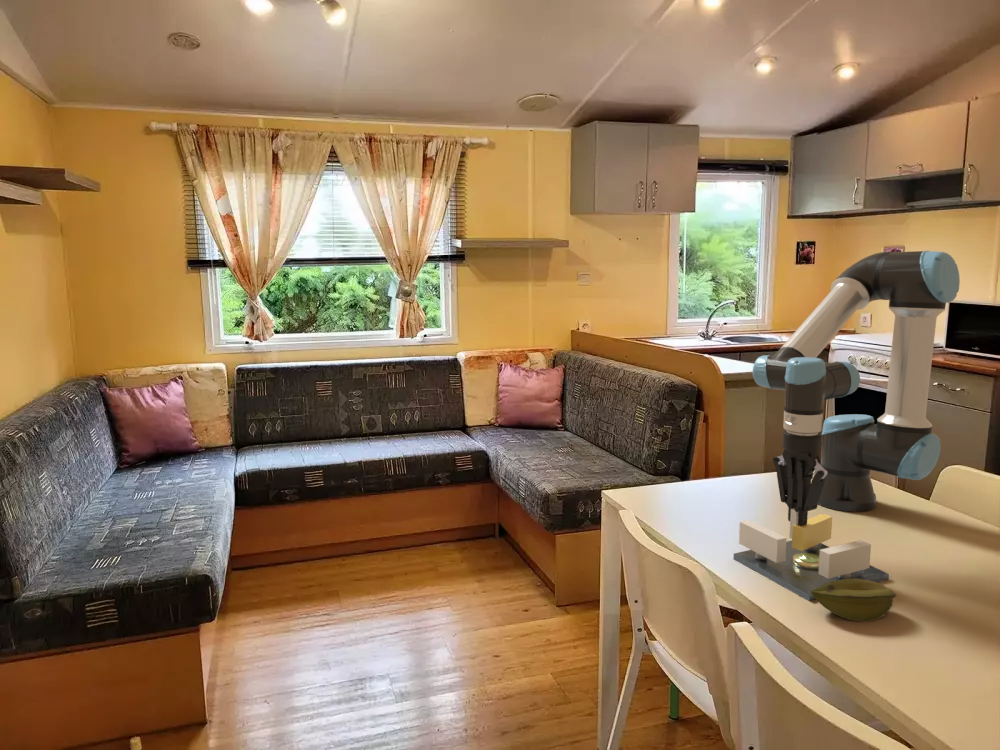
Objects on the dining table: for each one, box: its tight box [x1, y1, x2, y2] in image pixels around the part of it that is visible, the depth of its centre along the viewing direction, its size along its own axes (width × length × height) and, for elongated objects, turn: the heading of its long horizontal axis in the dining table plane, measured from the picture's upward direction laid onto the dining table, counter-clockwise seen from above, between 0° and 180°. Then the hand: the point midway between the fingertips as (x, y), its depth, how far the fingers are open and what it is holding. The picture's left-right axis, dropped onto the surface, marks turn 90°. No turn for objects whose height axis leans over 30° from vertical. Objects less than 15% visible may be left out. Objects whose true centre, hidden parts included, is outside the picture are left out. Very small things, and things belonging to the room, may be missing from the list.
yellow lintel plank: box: [791, 513, 833, 551], centre depth 153 cm, size 11×2×6 cm, turn 125°
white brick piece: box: [818, 539, 872, 579], centre depth 140 cm, size 11×2×6 cm, turn 113°
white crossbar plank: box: [738, 519, 787, 563], centre depth 149 cm, size 11×2×6 cm, turn 23°
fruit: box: [811, 578, 897, 623], centre depth 129 cm, size 11×12×7 cm
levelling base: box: [733, 540, 890, 602], centre depth 147 cm, size 21×21×3 cm
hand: (796, 537), depth 152 cm, fingers closed
